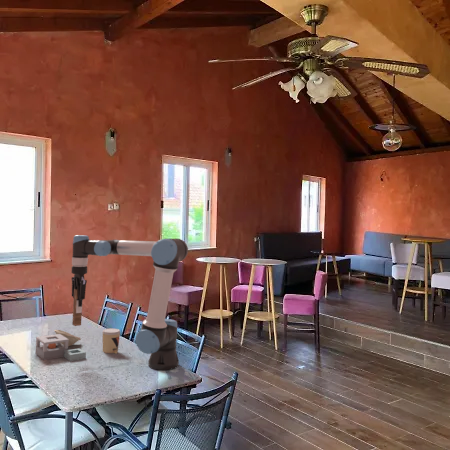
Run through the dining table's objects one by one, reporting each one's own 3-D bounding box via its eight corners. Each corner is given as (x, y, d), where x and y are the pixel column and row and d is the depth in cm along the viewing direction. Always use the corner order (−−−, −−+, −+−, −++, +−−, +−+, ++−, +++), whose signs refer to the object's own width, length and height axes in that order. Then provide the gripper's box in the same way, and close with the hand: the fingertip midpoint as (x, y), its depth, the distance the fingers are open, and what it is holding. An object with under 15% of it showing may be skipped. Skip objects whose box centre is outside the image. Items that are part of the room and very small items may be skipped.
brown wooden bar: (81, 325, 218) (82, 289, 218) (74, 326, 215) (76, 290, 215) (78, 323, 220) (80, 288, 220) (72, 324, 218) (74, 289, 218)
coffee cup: (114, 356, 226) (115, 333, 226) (98, 354, 228) (99, 331, 228) (122, 351, 236) (123, 329, 236) (106, 349, 237) (107, 327, 237)
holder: (85, 360, 218) (85, 352, 218) (69, 362, 212) (70, 354, 212) (79, 355, 224) (79, 348, 224) (63, 358, 218) (64, 350, 218)
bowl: (85, 347, 238) (86, 329, 238) (61, 352, 228) (62, 333, 228) (72, 341, 249) (73, 324, 249) (48, 345, 238) (49, 327, 238)
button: (56, 352, 220) (57, 342, 220) (49, 353, 218) (49, 343, 218) (54, 350, 223) (54, 340, 223) (46, 351, 220) (47, 341, 220)
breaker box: (67, 357, 220) (68, 339, 220) (43, 361, 212) (44, 342, 212) (58, 351, 229) (59, 333, 229) (35, 355, 221) (36, 336, 221)
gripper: (93, 267, 214) (91, 314, 214) (80, 263, 226) (78, 308, 226) (79, 267, 209) (76, 316, 209) (66, 264, 221) (63, 309, 221)
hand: (77, 312), depth 218 cm, fingers closed on brown wooden bar, 3 cm apart
